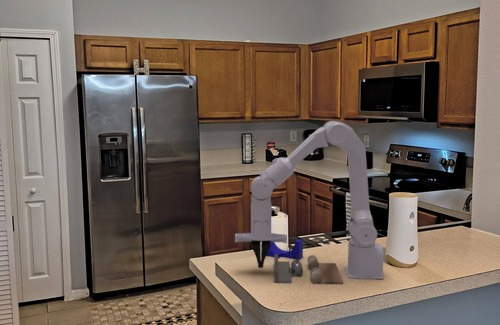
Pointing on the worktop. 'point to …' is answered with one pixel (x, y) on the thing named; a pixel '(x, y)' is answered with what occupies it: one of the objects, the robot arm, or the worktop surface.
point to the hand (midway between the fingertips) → (260, 266)
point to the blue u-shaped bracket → (292, 254)
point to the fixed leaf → (323, 272)
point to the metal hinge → (286, 270)
